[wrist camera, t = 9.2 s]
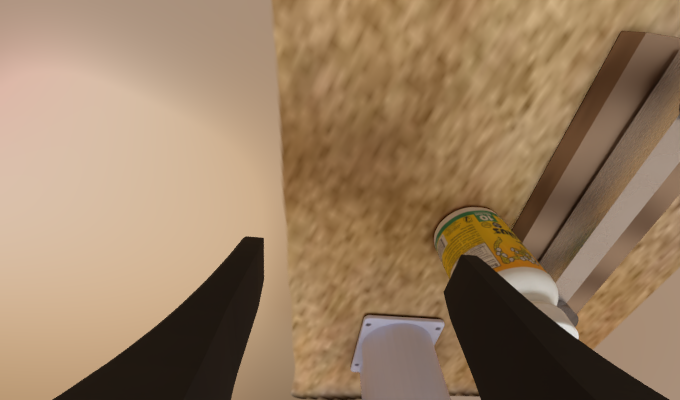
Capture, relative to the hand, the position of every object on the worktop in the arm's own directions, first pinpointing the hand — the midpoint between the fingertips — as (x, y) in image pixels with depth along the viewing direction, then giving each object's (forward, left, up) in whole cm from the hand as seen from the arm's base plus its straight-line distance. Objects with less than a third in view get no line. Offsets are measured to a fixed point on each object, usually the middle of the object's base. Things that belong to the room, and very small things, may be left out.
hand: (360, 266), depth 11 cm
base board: (-2, -19, -10) cm, 21 cm away
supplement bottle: (-5, -10, -11) cm, 16 cm away
